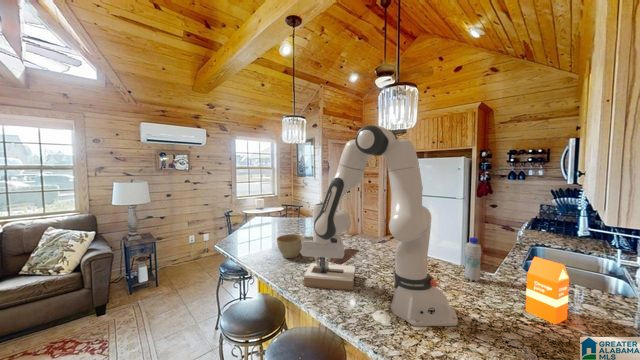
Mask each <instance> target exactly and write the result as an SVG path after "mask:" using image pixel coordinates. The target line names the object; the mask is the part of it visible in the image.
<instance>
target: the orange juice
mask: <svg viewBox="0 0 640 360" xmlns="http://www.w3.org/2000/svg"><path fill="white" fill-rule="evenodd" d="M526 276H527V277H526V289H525V291H526V292H525V294H526V295H525V296H526V297H525V298H526V299H525V312H528V313H529V314H531V315H533V316H536V317H538V318H540V319H542V320H545V321H547V322H548V323H550V324H553V325H557V324H560V323H562V322H564V321H565V320H567V319H568V305H569V304H568V303H569V287H570V277H569V275H568V272H567V270H566V266H565V264H562V263H559V262H555V261H552V260H548V259H545V258H541V257H538V256H534V257H533V258H532V262H531V263H530V266H529V268H528V271H527V274H526Z"/></svg>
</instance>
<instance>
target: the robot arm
mask: <svg viewBox="0 0 640 360" xmlns="http://www.w3.org/2000/svg"><path fill="white" fill-rule="evenodd" d="M371 156H372V157H373V156H375V157H376V156H377V157H378V156H379V157H380V156H382V157H383V158H384V159H385V162H386V166H387V171H388V172H387V173H388V181H389V186H390V187H389V188H390V218H389V219H390V220H389V223H388V229H389V232H390V235H392V237H393V239H394V238H395V240H397V244H396V248H395V260H394V261H395V266H394V267H395V270H394V273H393V286H394V289H393V298H392V301H391V304H390V310H391V312H392V313H393V314H395V316H397V317H399V318H400V319H402V320H404V321H406V322H408V324H410V325H411V326H414V327H438V326H439V327H443V326H444V327H449V326H450V327H451V326H452V327H455V326H457V325H458V315H457V312H456V311H455V309H454V308H453V306H451V305H450V302H449V299H448V297H447V295H446V294H445V293H444V292H443V291H442V290H441V289H439V288H438V287H437V285H438V284H437V281H436V280H435V279H434V278H433V276H432V275H431V273H428V254H429V253H428V252H429V247H430V246H429V245H430V238H431V237H430V236H431V227H432V214H431V212H430V210H429V209H428V208H427V207H426V206H424V205H423V189H424V188H423V187H424V186H423V182H422V175H421V170H420V169H421V167H420V161H419V159H418V155H417V151H416V148H415V146H414V143H413V142H412V141H411V140H410V139H406V138H398V137H397V135H396V133H395V132H394V131H392V130H391V129H387V128H385V127H383V126H378V125H371V124H370V125H366V126H362V127H361V128H360V129H359V130H358V131H357V132H356V134H355V138H354V139H351V140H348V141H347V142H346V143H345V146H344V148H343V150H342V153H341V156H340V159H339V163H338V166H337V170H336V173H335V175H334V177H333V178H332V180H331V182H330V183H329V186H328V189H327V191H326V195H325V197H324V200H323V202H319V203H316V204H314V206H313V209H312V224H313V229H312V236H307V235H304V236H303V238H302V239H301V244H302V248H301V251H300V254H301V256H302V257H308V258H310V257H312V258H314V261H315V262H316V263H317V266H320V259H318V258H320V257H325V259H326V260H328V261H325V267H328V266H329V264H330V262H329V261H330V259H331V258H343V257H344V250H345V247H344V243H343V241H342V235H341V234H342V233H344V232H346V231H348V230H349V229H350V227H351V218H350V216H349V214H348V213H347V212H345V211H344V210H340V209H339V206H340V204H341V203H340V202H341V201H342V199H343V197H344V196H345V195H346V194H347V193H348V192H350V191H351V190H352V189H354V188H356V187H357V186H358V185H359V184H360V183H361V182H362V180H363V178H364V174H365V170H366V167H367V163H368V160H369V159H370V157H371Z"/></svg>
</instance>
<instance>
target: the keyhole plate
mask: <svg viewBox="0 0 640 360" xmlns="http://www.w3.org/2000/svg"><path fill="white" fill-rule="evenodd" d="M325 273H326V274H323V273H320V266H317V262H316V263H314V262H311V263H310V264H309V267H308V268H307V270H306V271H305V273H304V275H303V282H304V283H303V284H304V285H303V286H304V287H311V288H313V287H314V288H321V289H322V288H325V289H335V290H345V291H346V290H347V291H354V287H355V285H354V284H355V283H354V281H355V279H356V266H355V265H347V264H346V265H343V264H342V265H341V264H330V263H329V266H328V267H325Z"/></svg>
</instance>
